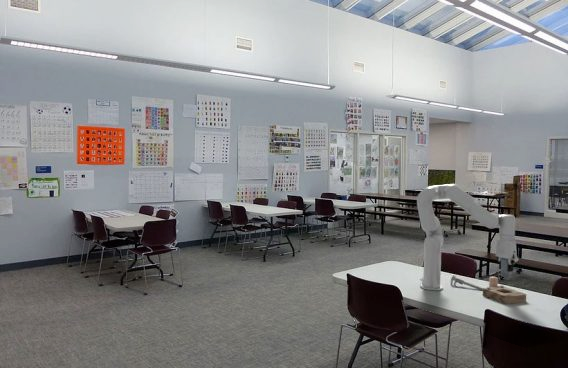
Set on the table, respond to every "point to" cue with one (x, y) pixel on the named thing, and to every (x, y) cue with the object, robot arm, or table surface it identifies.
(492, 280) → the terracotta sleeve
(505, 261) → the sleeve
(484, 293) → the jig
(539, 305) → the table surface
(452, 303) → the table surface
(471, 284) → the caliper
